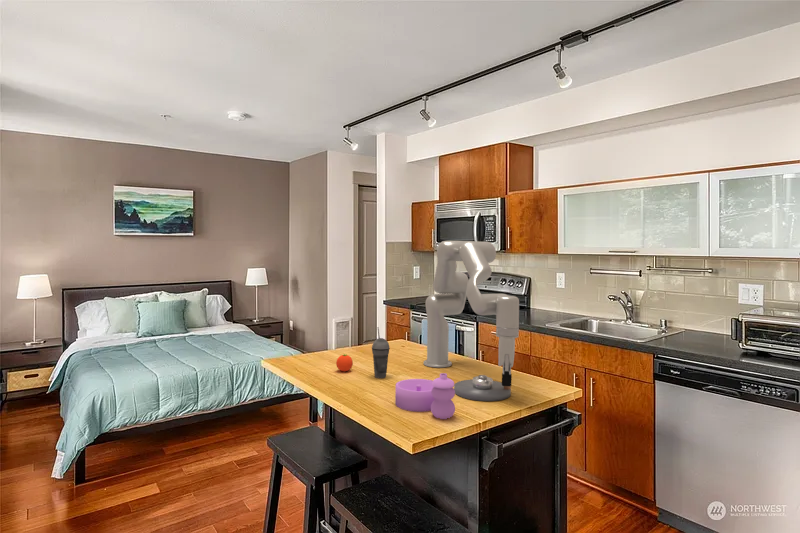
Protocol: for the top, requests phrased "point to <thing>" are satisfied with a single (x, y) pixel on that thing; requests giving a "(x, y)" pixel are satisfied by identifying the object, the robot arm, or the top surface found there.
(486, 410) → the top surface
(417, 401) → the container set
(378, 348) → the beverage cup
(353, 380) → the top surface
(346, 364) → the tomato
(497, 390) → the grey domed disc
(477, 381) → the cover
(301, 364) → the top surface
